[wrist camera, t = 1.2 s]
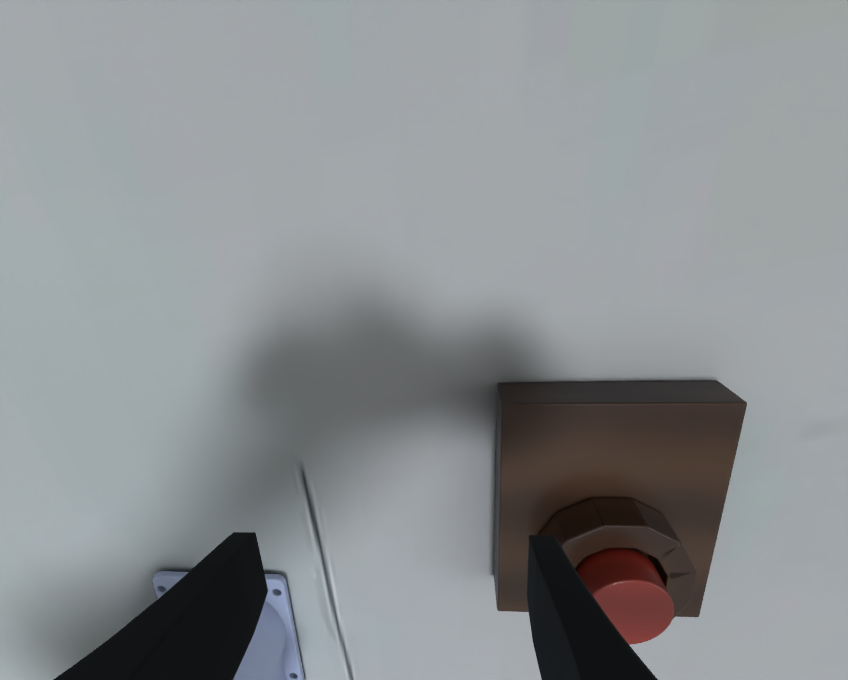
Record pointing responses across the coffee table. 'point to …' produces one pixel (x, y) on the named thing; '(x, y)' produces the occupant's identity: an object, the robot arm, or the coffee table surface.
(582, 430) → the switch block
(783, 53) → the coffee table surface
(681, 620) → the coffee table surface
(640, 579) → the button
